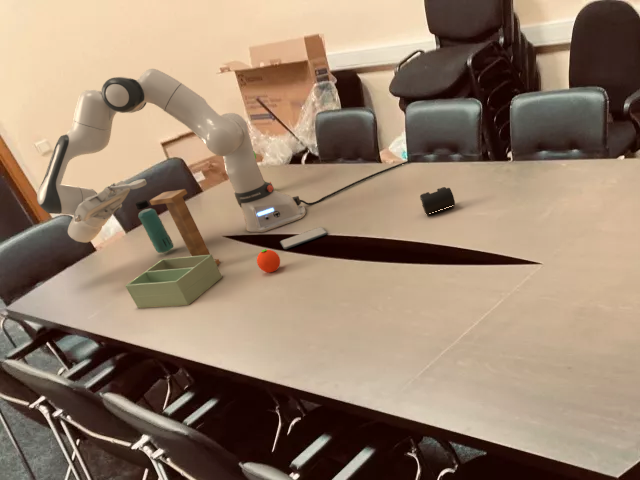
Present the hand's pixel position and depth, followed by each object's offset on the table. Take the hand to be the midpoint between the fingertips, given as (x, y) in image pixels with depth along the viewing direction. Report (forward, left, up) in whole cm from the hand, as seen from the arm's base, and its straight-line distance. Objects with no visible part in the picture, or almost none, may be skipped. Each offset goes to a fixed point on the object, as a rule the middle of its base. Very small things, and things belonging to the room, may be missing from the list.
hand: (112, 186), depth 230 cm
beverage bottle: (0, -19, -31) cm, 37 cm away
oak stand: (-17, +10, -31) cm, 37 cm away
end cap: (-98, +23, -31) cm, 105 cm away
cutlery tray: (-12, +26, -31) cm, 42 cm away
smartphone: (-52, +11, -31) cm, 62 cm away
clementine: (-42, +31, -31) cm, 61 cm away
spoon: (-5, +3, -1) cm, 6 cm away
